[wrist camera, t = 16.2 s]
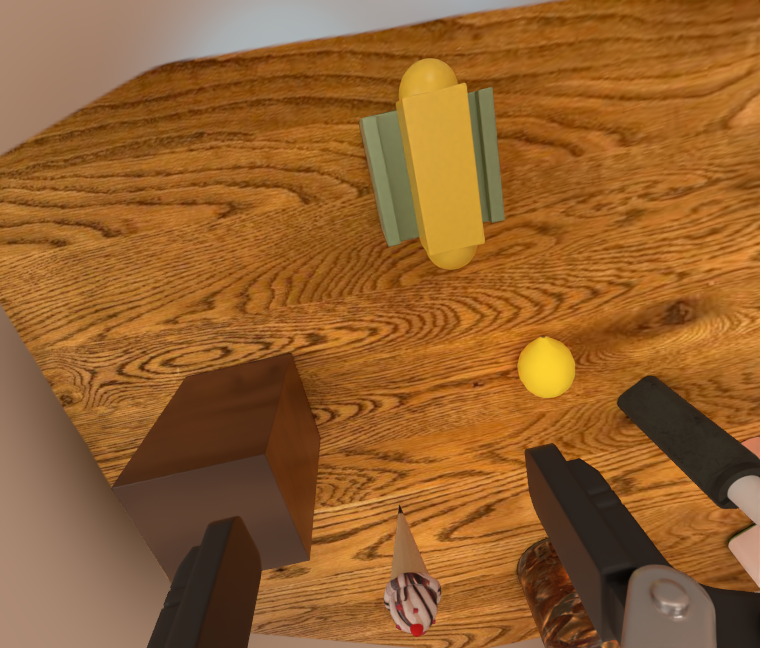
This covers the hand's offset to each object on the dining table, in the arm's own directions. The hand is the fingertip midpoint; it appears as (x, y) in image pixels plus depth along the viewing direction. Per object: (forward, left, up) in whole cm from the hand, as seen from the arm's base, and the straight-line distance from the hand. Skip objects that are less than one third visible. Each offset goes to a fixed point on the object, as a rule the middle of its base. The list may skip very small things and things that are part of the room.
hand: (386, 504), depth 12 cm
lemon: (+15, +15, -30) cm, 37 cm away
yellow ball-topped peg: (-6, +7, -24) cm, 25 cm away
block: (-6, +7, -30) cm, 31 cm away
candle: (+24, +27, -30) cm, 47 cm away
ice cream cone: (+32, -3, -30) cm, 44 cm away
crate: (+14, -15, -30) cm, 36 cm away
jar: (+49, +16, -30) cm, 60 cm away
